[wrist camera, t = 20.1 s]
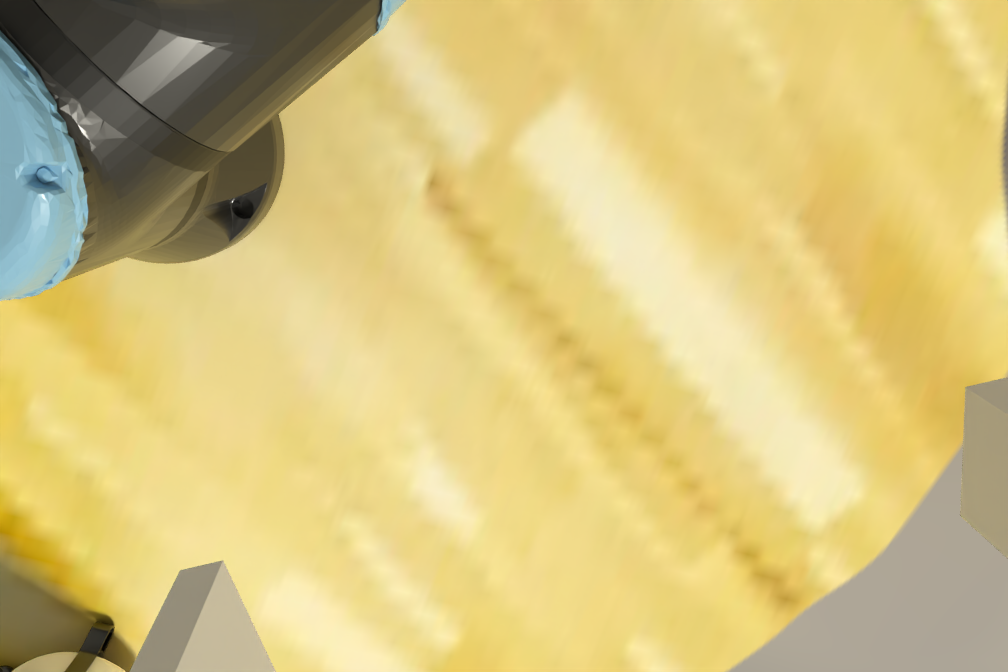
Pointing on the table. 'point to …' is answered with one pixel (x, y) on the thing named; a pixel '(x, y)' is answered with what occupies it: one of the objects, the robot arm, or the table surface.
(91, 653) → the coffee press
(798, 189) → the table surface
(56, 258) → the robot arm
